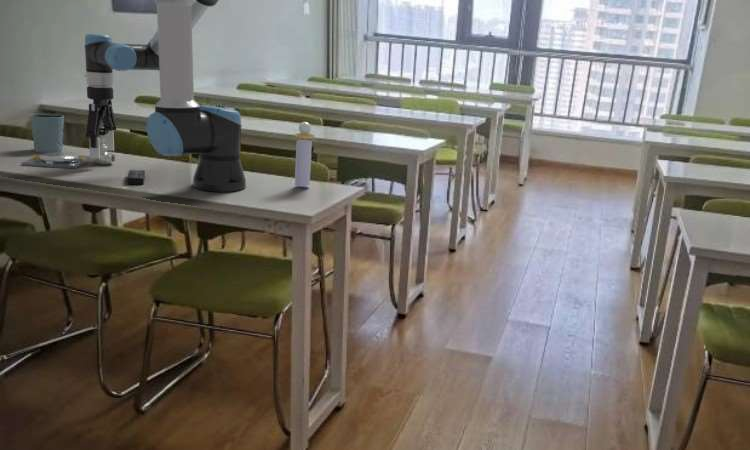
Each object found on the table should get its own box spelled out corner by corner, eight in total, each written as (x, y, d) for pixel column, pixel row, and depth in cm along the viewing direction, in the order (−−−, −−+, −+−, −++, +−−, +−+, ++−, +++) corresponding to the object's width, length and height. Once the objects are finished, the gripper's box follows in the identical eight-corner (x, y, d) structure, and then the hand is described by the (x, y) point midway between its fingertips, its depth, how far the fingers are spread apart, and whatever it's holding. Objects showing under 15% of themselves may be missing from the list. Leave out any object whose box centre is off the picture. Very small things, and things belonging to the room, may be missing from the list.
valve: (109, 167, 205) (107, 129, 202) (88, 165, 205) (86, 127, 202) (117, 163, 211) (116, 126, 208) (97, 161, 211) (95, 124, 208)
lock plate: (76, 168, 199) (75, 162, 199) (21, 165, 198) (21, 158, 197) (94, 158, 214) (94, 152, 214) (44, 155, 213) (43, 149, 213)
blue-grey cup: (25, 150, 218) (22, 114, 215) (48, 146, 228) (45, 112, 224) (50, 154, 216) (48, 118, 212) (72, 150, 225) (70, 115, 222)
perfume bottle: (303, 190, 195) (306, 123, 190) (288, 187, 198) (291, 121, 193) (315, 187, 200) (318, 122, 194) (300, 184, 203) (304, 120, 197)
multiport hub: (126, 185, 186) (126, 178, 185) (129, 177, 196) (129, 169, 195) (143, 186, 187) (143, 178, 186) (145, 177, 197) (145, 170, 196)
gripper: (101, 82, 213) (103, 146, 219) (71, 88, 189) (75, 160, 195) (124, 83, 214) (126, 148, 219) (98, 90, 190) (101, 162, 196)
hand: (102, 154), depth 207 cm, fingers open, 13 cm apart
